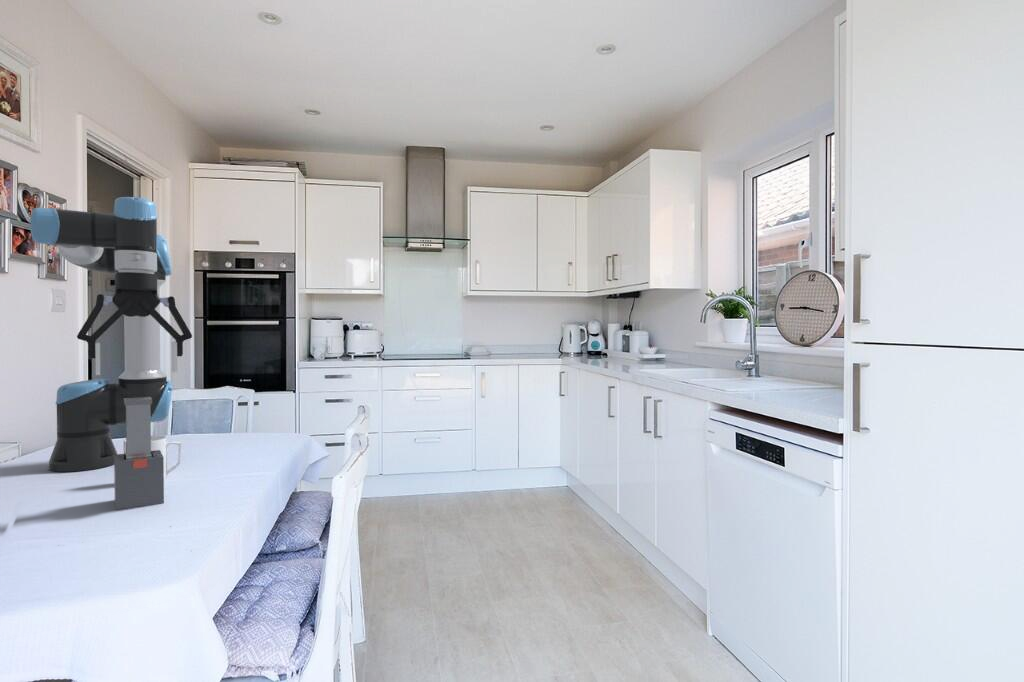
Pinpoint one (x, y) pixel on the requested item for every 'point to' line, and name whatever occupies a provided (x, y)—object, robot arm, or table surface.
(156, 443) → the mug
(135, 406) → the column
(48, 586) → the table surface
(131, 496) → the stand
